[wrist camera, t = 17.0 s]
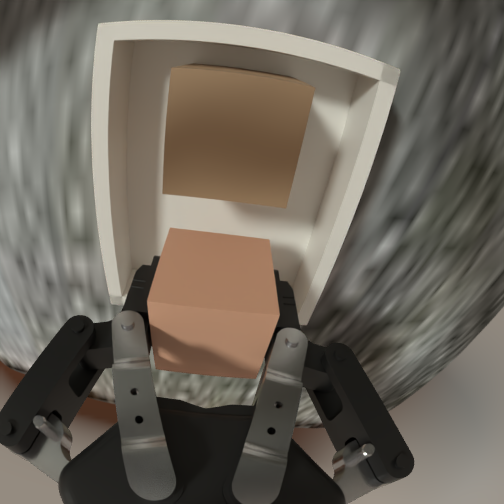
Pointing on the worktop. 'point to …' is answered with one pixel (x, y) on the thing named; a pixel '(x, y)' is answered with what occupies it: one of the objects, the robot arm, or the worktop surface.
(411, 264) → the worktop surface
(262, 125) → the walnut block
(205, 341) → the terracotta block
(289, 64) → the tray
